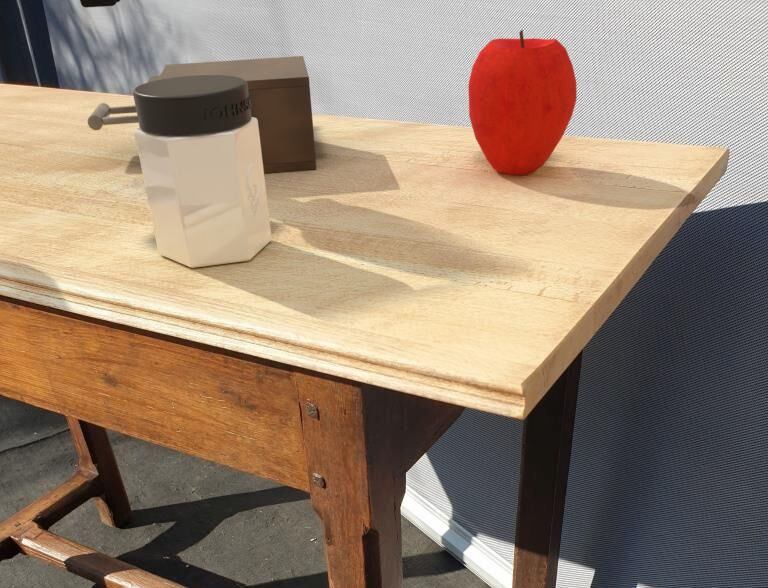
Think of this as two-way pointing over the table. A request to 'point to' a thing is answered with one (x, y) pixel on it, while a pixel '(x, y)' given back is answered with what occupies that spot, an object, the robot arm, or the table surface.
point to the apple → (521, 101)
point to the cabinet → (270, 106)
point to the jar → (202, 169)
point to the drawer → (104, 111)
